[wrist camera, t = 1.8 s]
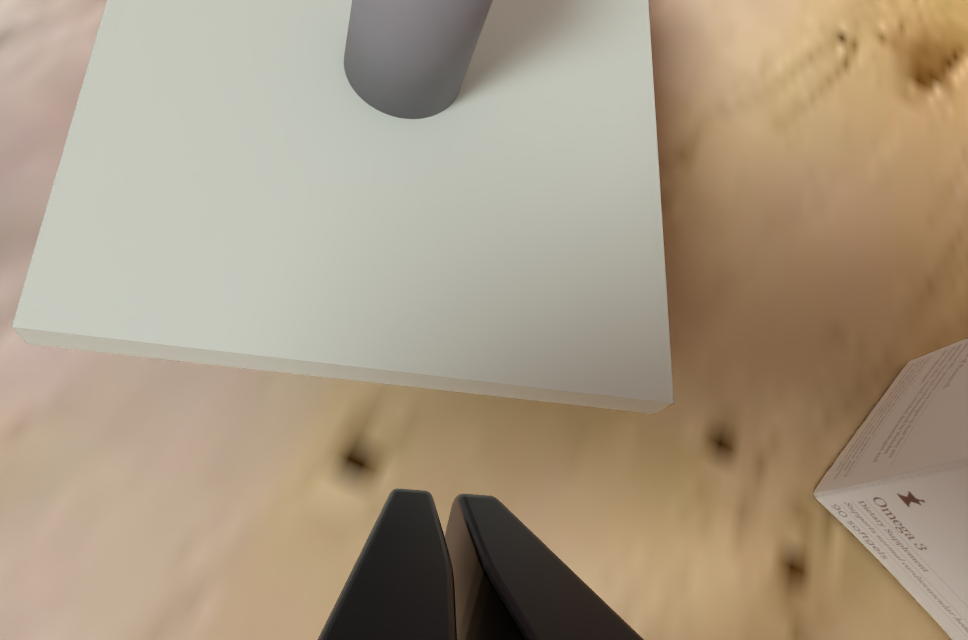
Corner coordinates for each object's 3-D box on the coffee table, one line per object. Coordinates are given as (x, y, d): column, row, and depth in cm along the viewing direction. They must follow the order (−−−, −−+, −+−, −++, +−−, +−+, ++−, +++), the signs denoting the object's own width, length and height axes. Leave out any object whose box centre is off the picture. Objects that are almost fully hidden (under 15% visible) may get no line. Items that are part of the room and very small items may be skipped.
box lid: (654, 413, 19) (812, 329, 13) (26, 344, 15) (-100, 195, 10) (631, -17, 24) (737, -201, 19) (160, -136, 21) (125, -400, 15)
